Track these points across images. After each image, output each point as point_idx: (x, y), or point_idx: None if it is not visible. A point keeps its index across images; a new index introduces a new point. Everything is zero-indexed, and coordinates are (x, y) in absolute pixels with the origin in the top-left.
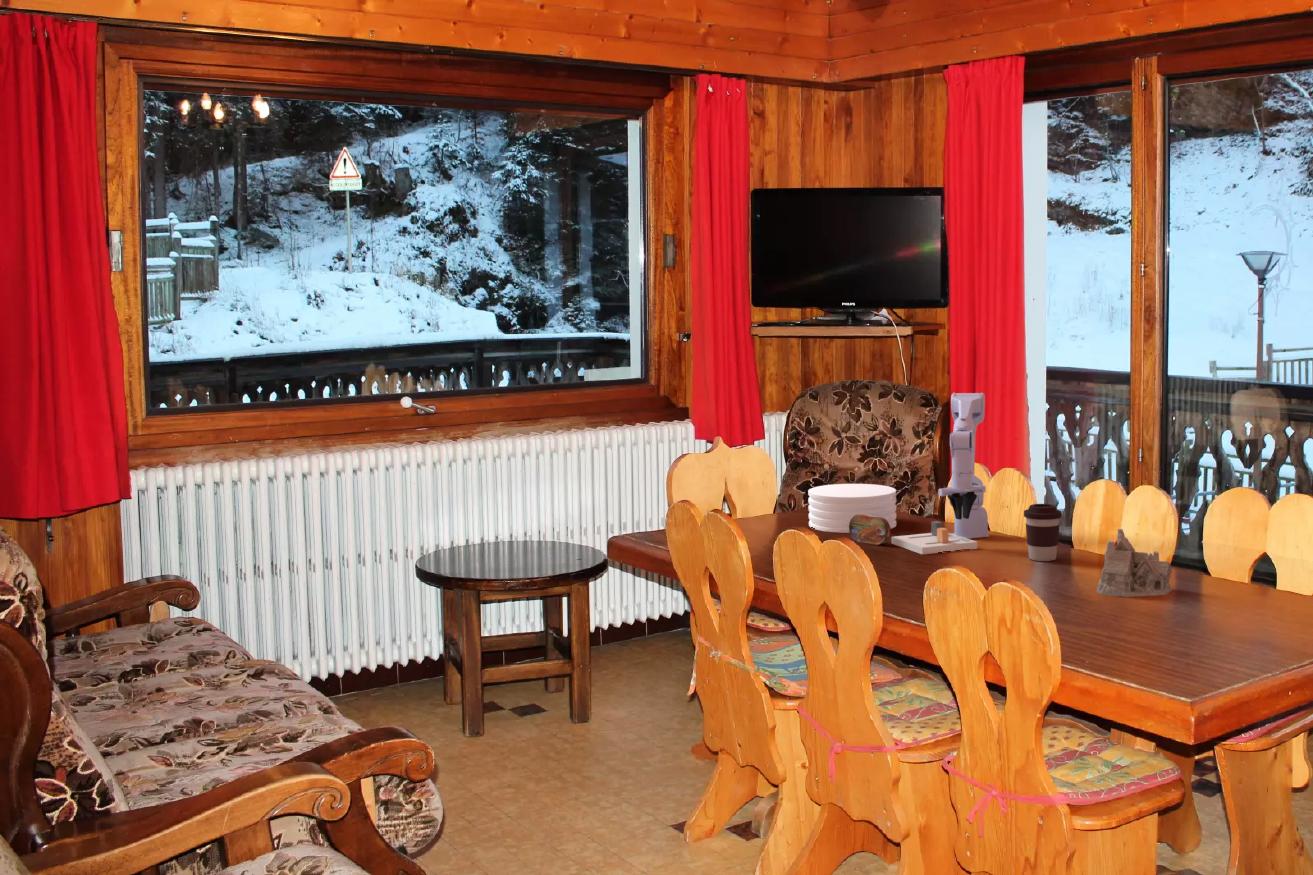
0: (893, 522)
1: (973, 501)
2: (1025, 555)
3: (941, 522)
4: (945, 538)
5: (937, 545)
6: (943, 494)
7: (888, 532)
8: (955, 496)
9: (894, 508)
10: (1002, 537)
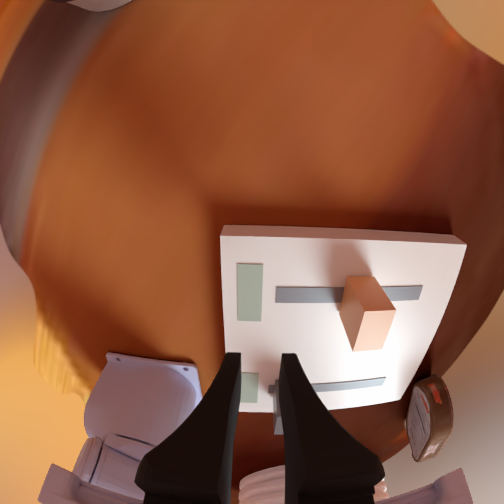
0: (259, 478)
1: (180, 437)
2: (126, 35)
3: (279, 418)
4: (366, 285)
5: (412, 250)
6: (455, 481)
7: (436, 392)
8: (354, 492)
9: (262, 499)
10: (76, 331)
